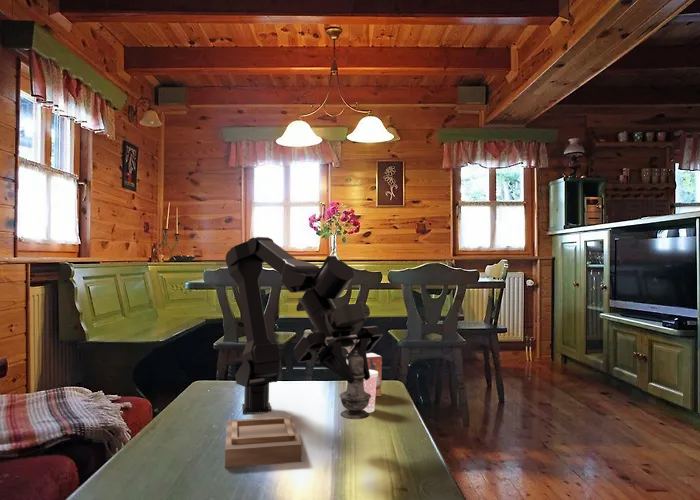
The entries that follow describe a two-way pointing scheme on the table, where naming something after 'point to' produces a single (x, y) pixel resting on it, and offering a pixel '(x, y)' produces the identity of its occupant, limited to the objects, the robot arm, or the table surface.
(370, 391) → the beverage cup
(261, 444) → the walnut plinth
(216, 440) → the table surface
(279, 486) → the table surface
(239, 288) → the robot arm
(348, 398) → the antique pepper shaker
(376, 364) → the small box
